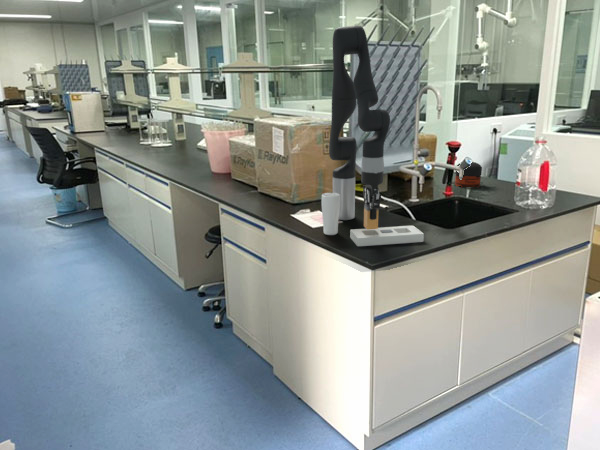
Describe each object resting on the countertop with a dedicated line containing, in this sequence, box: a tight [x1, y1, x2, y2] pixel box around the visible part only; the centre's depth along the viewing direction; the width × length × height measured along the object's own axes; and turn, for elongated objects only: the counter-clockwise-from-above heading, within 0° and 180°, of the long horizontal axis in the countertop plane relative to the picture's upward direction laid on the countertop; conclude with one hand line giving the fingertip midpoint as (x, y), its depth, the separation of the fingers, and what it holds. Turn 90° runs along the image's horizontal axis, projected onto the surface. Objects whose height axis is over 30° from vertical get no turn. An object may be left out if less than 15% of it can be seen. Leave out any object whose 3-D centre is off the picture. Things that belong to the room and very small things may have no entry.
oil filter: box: [454, 161, 483, 188], centre depth 252 cm, size 13×12×13 cm
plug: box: [363, 204, 380, 229], centre depth 168 cm, size 4×4×8 cm
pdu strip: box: [349, 225, 425, 247], centre depth 171 cm, size 10×24×3 cm, turn 99°
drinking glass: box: [321, 192, 340, 236], centre depth 177 cm, size 7×7×15 cm
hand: (371, 217), depth 168 cm, fingers closed on plug, 4 cm apart
